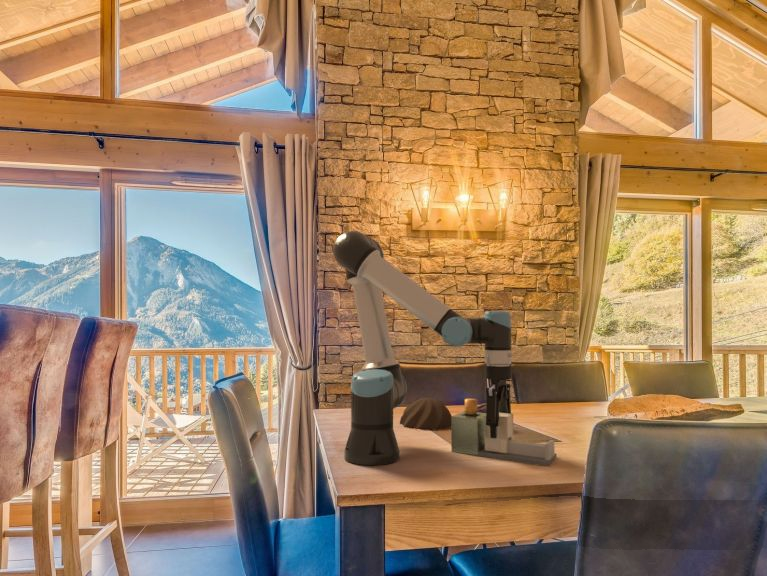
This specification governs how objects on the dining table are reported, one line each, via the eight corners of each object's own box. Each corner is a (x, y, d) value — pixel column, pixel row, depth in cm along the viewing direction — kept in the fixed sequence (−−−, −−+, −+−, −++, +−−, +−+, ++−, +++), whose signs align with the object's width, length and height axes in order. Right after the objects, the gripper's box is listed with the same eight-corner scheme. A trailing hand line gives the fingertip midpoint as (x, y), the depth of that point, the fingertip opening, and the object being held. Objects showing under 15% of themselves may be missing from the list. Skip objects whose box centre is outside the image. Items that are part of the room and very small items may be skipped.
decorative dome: (460, 422, 187) (460, 395, 188) (443, 432, 169) (443, 402, 170) (412, 418, 196) (412, 392, 196) (391, 427, 178) (391, 399, 178)
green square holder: (477, 455, 140) (477, 419, 140) (451, 451, 144) (451, 416, 145) (490, 447, 148) (490, 413, 149) (465, 444, 152) (465, 411, 153)
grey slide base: (547, 466, 129) (546, 446, 130) (477, 455, 140) (477, 437, 140) (556, 457, 138) (556, 438, 138) (490, 447, 148) (490, 430, 148)
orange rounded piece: (474, 415, 144) (474, 400, 144) (462, 414, 146) (462, 399, 146) (479, 413, 147) (478, 399, 148) (467, 412, 149) (467, 398, 149)
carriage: (505, 453, 137) (505, 417, 138) (485, 450, 140) (484, 415, 141) (513, 448, 143) (513, 413, 143) (493, 445, 146) (493, 411, 147)
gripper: (499, 368, 133) (500, 456, 131) (521, 363, 149) (523, 441, 148) (472, 366, 137) (473, 452, 135) (497, 362, 153) (498, 438, 152)
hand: (499, 446), depth 142 cm, fingers closed on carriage, 7 cm apart
